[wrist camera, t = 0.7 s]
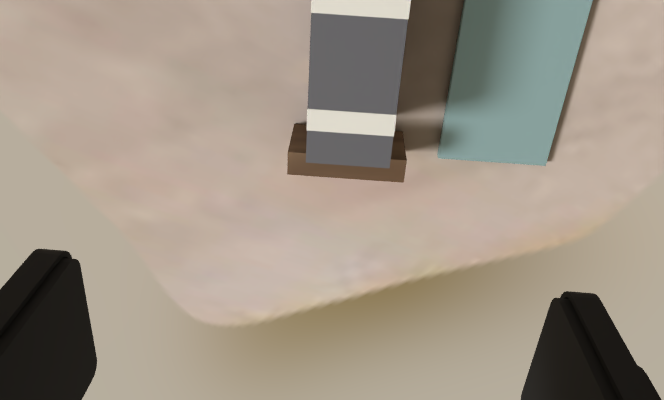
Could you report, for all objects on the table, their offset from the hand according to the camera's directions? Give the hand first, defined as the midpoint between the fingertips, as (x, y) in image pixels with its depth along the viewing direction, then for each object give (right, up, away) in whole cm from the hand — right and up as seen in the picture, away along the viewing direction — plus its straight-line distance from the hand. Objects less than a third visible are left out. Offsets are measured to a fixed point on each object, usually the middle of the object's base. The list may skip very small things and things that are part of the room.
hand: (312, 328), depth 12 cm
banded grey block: (+2, +13, +23) cm, 26 cm away
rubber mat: (+11, +12, +23) cm, 28 cm away
